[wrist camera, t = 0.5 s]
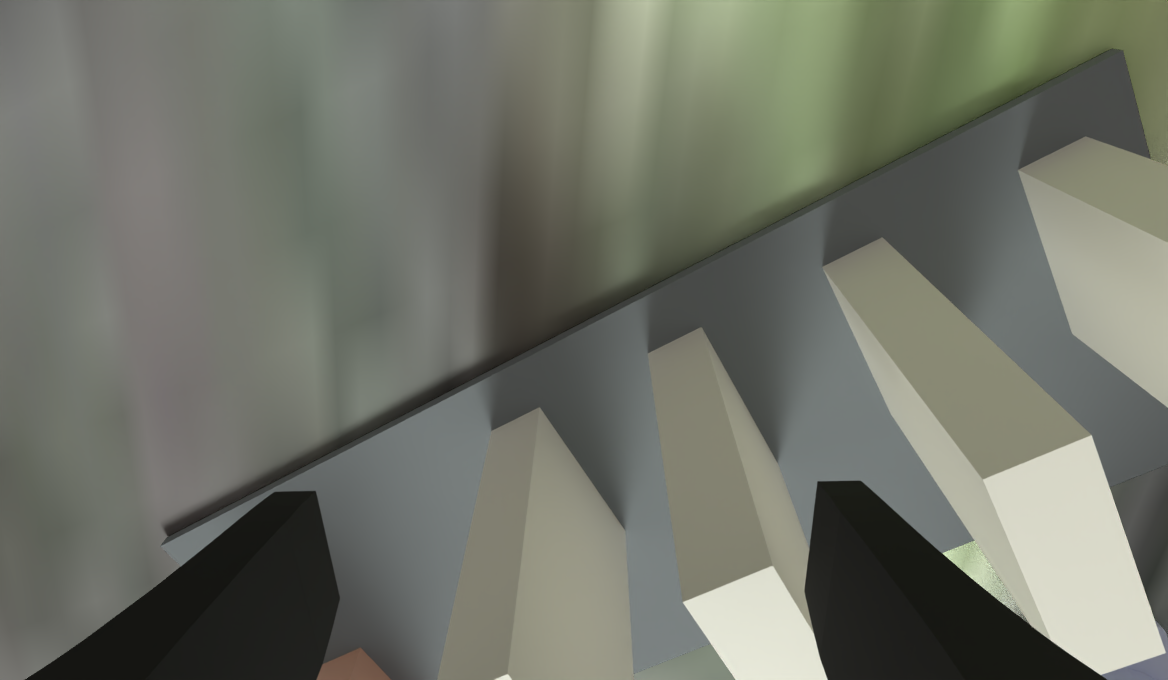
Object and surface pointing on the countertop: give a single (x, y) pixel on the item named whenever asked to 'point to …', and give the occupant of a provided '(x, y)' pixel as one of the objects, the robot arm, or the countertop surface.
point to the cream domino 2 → (731, 519)
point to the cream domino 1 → (539, 569)
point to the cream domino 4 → (1108, 252)
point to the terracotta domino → (352, 668)
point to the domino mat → (737, 383)
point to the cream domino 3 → (1001, 460)
